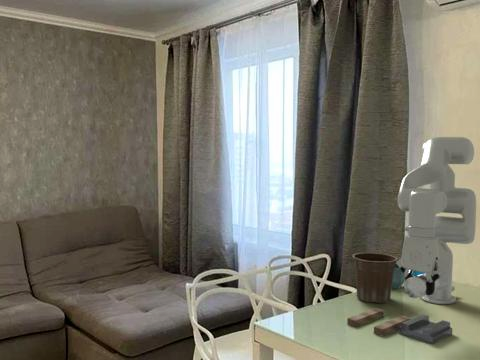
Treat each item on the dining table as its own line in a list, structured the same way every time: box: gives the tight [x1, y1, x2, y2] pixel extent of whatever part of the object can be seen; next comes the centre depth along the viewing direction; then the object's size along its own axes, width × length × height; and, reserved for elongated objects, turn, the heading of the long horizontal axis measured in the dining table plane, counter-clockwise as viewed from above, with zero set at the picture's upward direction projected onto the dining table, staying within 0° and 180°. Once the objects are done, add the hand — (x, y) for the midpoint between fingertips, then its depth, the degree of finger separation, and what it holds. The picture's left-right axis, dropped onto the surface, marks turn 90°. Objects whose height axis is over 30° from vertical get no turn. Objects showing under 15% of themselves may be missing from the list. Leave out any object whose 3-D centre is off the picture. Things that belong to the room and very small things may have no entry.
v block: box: [398, 314, 453, 345], centre depth 154 cm, size 12×11×4 cm
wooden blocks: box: [346, 307, 412, 337], centre depth 162 cm, size 16×13×2 cm
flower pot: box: [391, 264, 405, 290], centre depth 205 cm, size 9×9×9 cm
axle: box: [403, 270, 449, 299], centre depth 153 cm, size 16×6×6 cm, turn 131°
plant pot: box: [352, 252, 398, 304], centre depth 189 cm, size 16×16×16 cm
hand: (419, 291), depth 150 cm, fingers closed on axle, 6 cm apart
